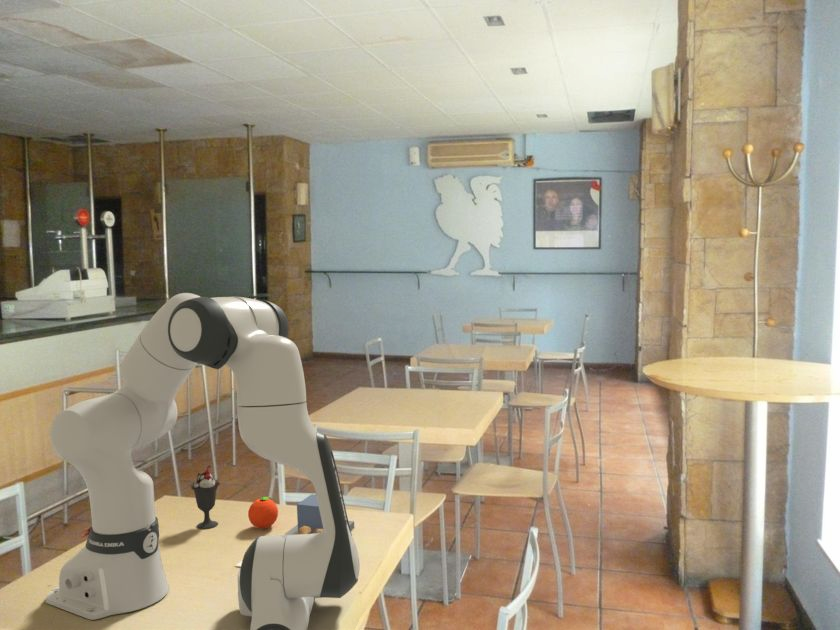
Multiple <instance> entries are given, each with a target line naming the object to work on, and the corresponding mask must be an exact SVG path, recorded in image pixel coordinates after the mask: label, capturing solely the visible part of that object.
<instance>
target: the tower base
mask: <svg viewBox="0 0 840 630" xmlns="http://www.w3.org/2000/svg"><path fill="white" fill-rule="evenodd" d="M296 515H297V516H296V517H297V524H296V525H295V526H294V527H292V528H291V529H289V531H287V532H286V533H284V534H283V535H287V534H288V535H297V533H298V530H299V529H300V528H301V527H303V526H308V527H310V528H311V531H313V530H316V529H323V524H322V520H321V515H320V511H319V506H318V501H317V497H316V494H315V493H314V494H313V493H312V494H310V495H308V496H307V497H306V498H304V499H302V500H301V501H300V502H298V503H296ZM348 522H349V526H350V530H351V531H352V530H354V529H355V521H353V520H348Z"/></svg>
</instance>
